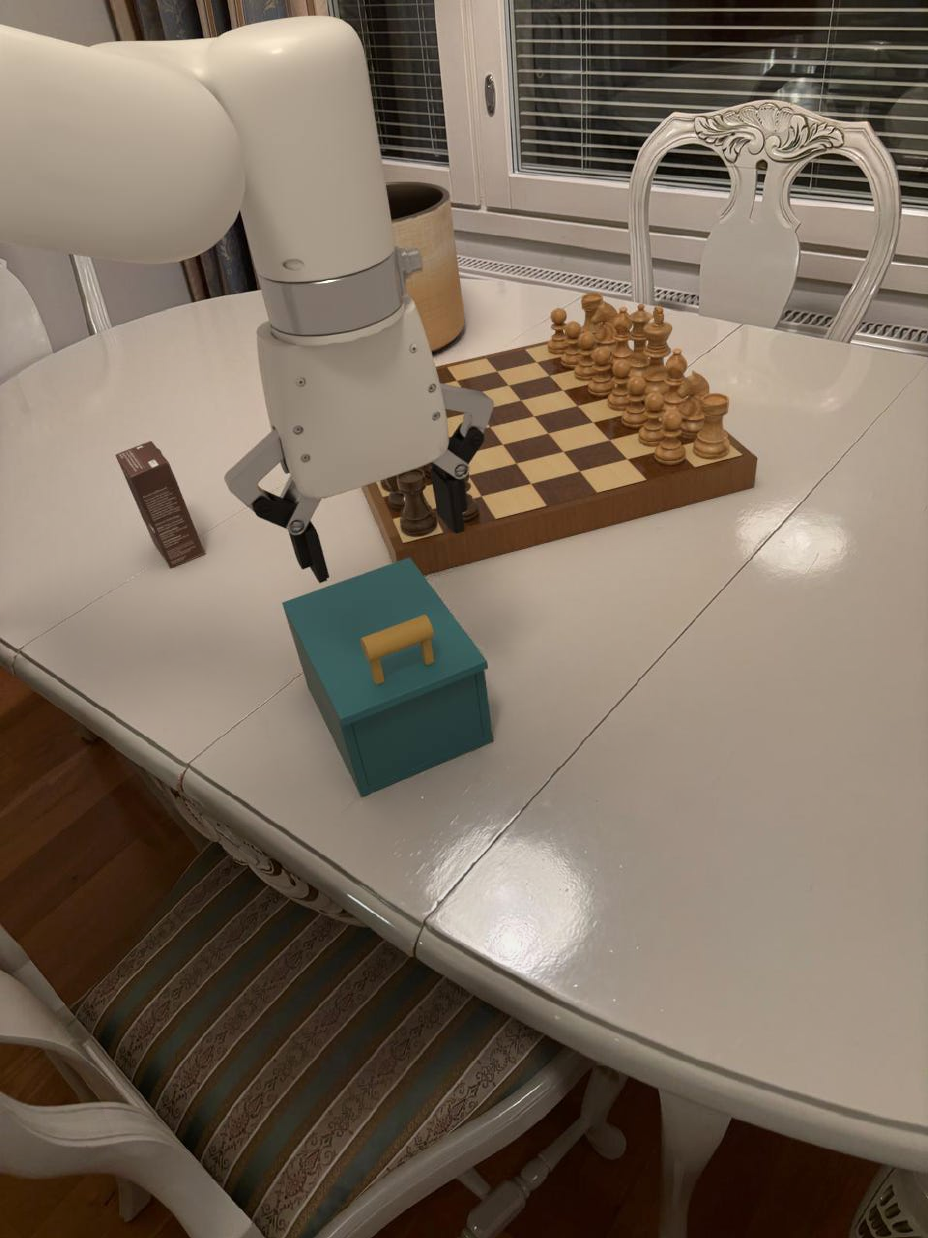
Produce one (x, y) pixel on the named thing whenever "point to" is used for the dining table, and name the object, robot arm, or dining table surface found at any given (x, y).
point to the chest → (406, 729)
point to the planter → (429, 256)
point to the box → (160, 503)
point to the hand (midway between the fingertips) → (385, 546)
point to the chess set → (570, 442)
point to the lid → (381, 640)
